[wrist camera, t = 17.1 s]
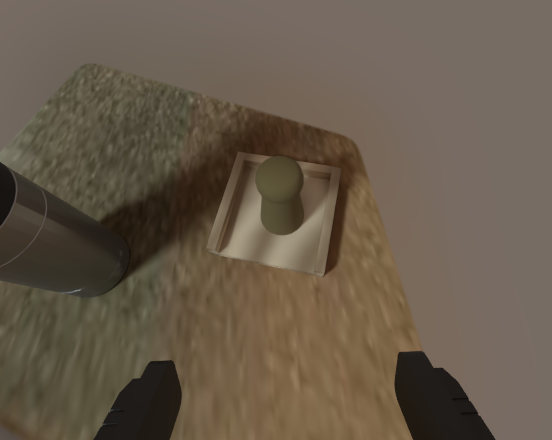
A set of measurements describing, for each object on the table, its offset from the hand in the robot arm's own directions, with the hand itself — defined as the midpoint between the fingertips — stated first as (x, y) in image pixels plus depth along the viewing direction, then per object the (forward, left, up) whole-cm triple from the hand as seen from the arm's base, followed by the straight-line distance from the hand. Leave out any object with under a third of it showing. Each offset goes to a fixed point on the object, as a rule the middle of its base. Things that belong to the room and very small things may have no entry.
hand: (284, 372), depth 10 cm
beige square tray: (-5, +17, -25) cm, 30 cm away
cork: (-4, +16, -24) cm, 29 cm away
